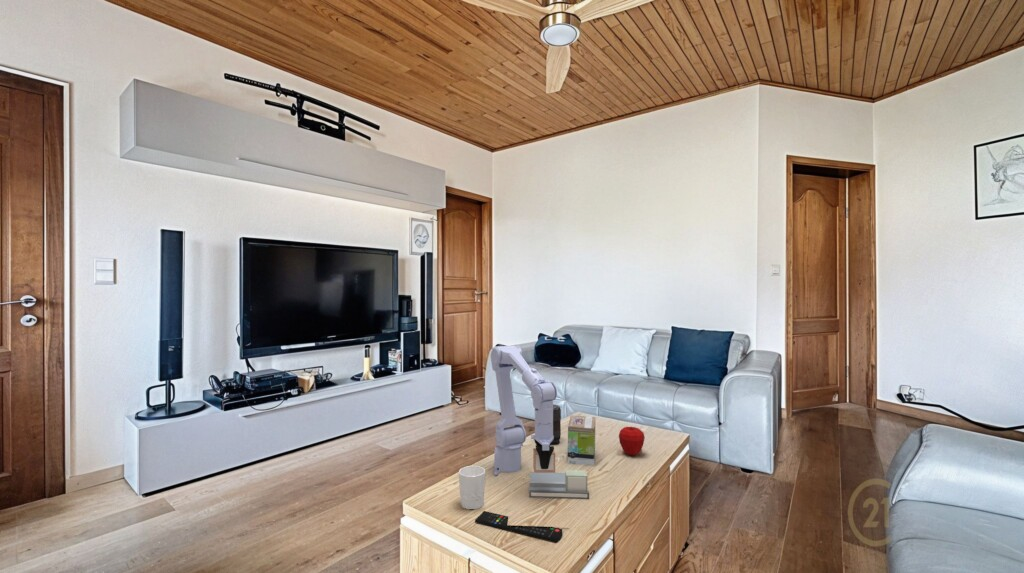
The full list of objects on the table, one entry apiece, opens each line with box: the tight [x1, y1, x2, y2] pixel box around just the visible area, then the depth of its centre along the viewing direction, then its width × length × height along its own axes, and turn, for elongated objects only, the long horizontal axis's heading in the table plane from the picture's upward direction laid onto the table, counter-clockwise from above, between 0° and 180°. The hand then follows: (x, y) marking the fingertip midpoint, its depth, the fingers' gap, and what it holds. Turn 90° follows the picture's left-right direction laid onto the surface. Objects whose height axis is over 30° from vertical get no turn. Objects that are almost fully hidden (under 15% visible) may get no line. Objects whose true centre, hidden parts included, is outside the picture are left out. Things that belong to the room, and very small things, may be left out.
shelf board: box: [528, 471, 590, 500], centre depth 140 cm, size 18×18×3 cm
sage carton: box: [564, 469, 588, 492], centre depth 135 cm, size 6×4×6 cm, turn 86°
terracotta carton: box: [532, 447, 556, 473], centre depth 136 cm, size 6×4×6 cm, turn 91°
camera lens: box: [550, 403, 562, 446], centre depth 182 cm, size 8×8×15 cm
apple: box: [618, 426, 646, 457], centre depth 169 cm, size 10×10×11 cm
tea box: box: [566, 415, 596, 466], centre depth 164 cm, size 15×10×15 cm, turn 168°
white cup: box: [458, 465, 486, 510], centre depth 130 cm, size 8×8×10 cm
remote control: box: [474, 510, 563, 544], centre depth 117 cm, size 5×24×1 cm, turn 66°
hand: (543, 465), depth 136 cm, fingers closed on terracotta carton, 4 cm apart
